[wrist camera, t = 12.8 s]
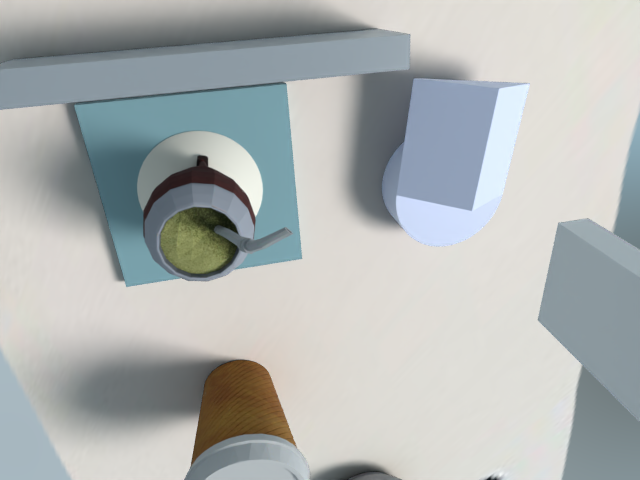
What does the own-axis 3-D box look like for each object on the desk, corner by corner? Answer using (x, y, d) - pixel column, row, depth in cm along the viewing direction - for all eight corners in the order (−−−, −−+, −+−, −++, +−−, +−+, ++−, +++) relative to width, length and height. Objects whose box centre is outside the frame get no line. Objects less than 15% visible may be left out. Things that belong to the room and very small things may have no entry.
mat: (76, 103, 32) (73, 105, 31) (284, 82, 34) (286, 84, 34) (127, 281, 39) (126, 287, 38) (300, 254, 41) (302, 259, 40)
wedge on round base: (396, 71, 36) (375, 230, 42) (434, 85, 30) (404, 268, 36) (504, 76, 38) (470, 227, 44) (560, 91, 32) (512, 263, 38)
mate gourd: (150, 236, 36) (121, 370, 23) (151, 132, 33) (118, 220, 20) (250, 240, 38) (275, 366, 25) (259, 142, 35) (294, 228, 22)
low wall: (12, 59, 30) (-28, 72, 25) (378, 28, 34) (410, 34, 29) (23, 92, 31) (-13, 110, 26) (378, 58, 35) (409, 69, 30)
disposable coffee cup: (182, 424, 46) (176, 549, 36) (190, 344, 42) (187, 457, 32) (279, 422, 49) (301, 538, 38) (296, 346, 45) (324, 451, 35)
